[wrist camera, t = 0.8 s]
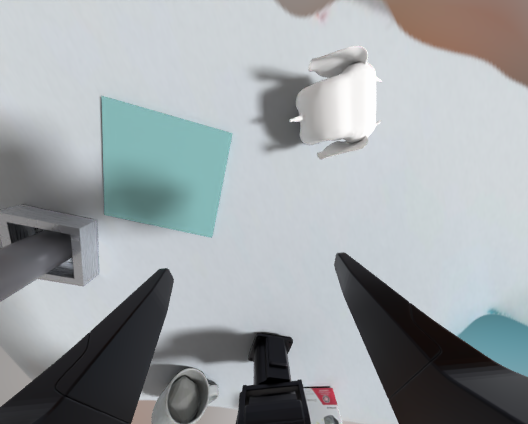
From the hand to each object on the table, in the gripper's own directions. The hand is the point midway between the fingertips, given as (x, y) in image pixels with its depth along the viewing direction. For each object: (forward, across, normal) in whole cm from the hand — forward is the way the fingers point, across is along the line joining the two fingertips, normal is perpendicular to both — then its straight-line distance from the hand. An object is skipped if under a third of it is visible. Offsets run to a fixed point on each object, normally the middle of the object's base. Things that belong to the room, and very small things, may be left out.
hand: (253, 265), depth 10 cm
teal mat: (+14, +10, 0) cm, 18 cm away
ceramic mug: (+6, +15, +38) cm, 41 cm away
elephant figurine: (+16, -9, -5) cm, 19 cm away
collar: (+13, +26, +7) cm, 29 cm away
